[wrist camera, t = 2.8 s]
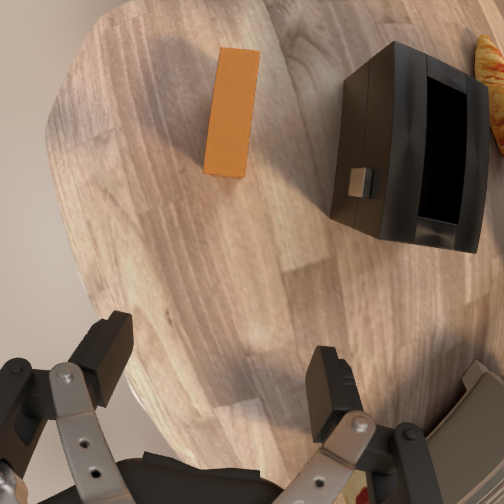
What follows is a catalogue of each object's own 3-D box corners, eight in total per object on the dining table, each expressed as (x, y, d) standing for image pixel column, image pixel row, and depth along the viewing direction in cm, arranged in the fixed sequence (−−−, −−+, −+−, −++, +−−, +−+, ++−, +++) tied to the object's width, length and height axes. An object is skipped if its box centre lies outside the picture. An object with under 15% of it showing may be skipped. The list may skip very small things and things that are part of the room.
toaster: (517, 368, 42) (574, 415, 23) (415, 483, 48) (447, 542, 28) (487, 341, 39) (563, 401, 19) (363, 479, 45) (395, 557, 25)
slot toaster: (424, 105, 30) (488, 86, 19) (411, 231, 34) (476, 254, 22) (337, 78, 29) (384, 37, 18) (322, 217, 33) (368, 238, 21)
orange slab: (252, 87, 29) (260, 51, 19) (240, 178, 31) (244, 177, 22) (223, 84, 29) (220, 46, 19) (211, 176, 31) (202, 173, 21)
